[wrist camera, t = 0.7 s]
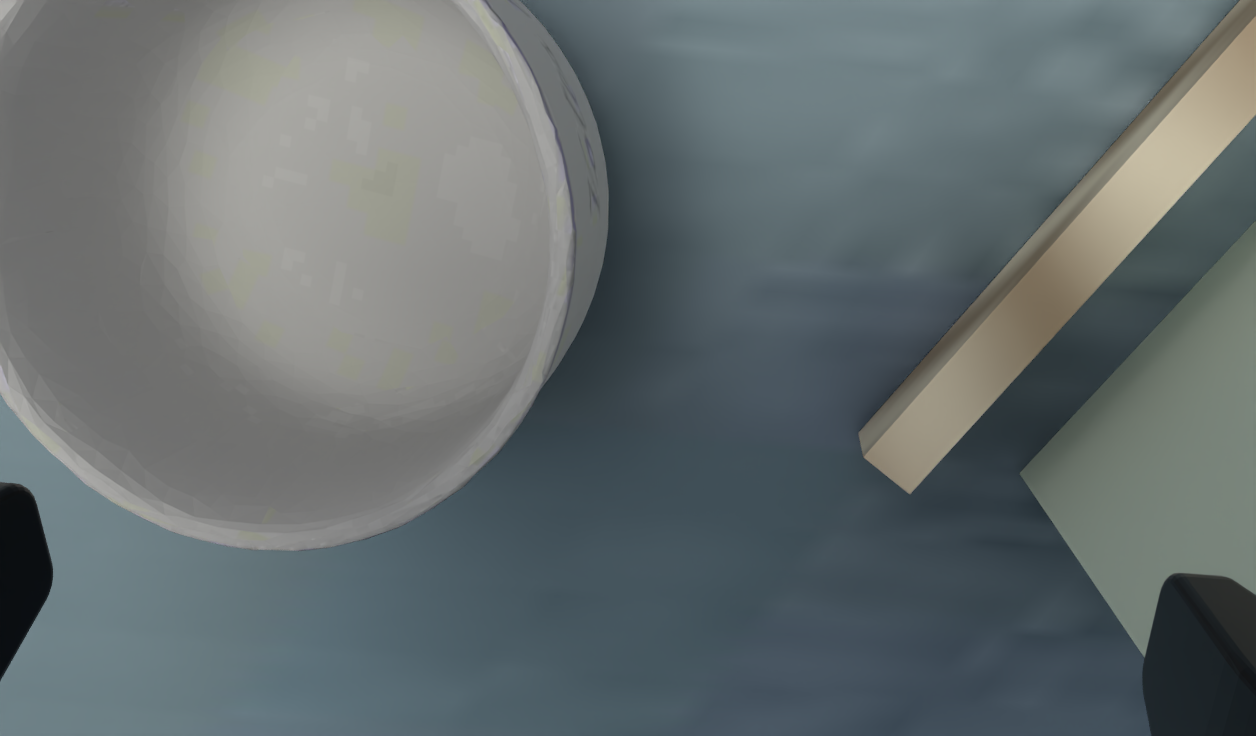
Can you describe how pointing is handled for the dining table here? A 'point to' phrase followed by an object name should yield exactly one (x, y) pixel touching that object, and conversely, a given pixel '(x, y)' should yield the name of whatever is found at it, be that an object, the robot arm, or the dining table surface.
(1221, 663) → the robot arm
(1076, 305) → the guide chute
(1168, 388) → the sage block
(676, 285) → the dining table surface
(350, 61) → the teacup
